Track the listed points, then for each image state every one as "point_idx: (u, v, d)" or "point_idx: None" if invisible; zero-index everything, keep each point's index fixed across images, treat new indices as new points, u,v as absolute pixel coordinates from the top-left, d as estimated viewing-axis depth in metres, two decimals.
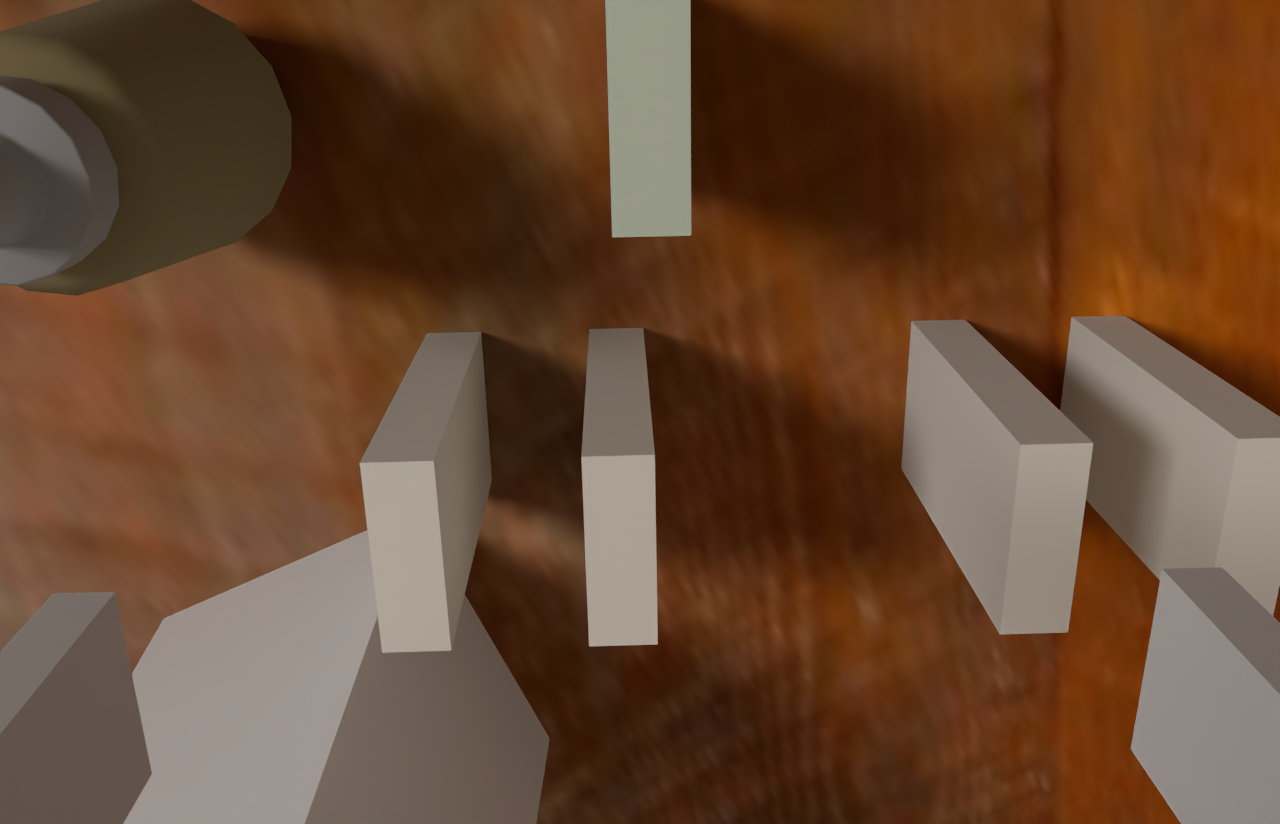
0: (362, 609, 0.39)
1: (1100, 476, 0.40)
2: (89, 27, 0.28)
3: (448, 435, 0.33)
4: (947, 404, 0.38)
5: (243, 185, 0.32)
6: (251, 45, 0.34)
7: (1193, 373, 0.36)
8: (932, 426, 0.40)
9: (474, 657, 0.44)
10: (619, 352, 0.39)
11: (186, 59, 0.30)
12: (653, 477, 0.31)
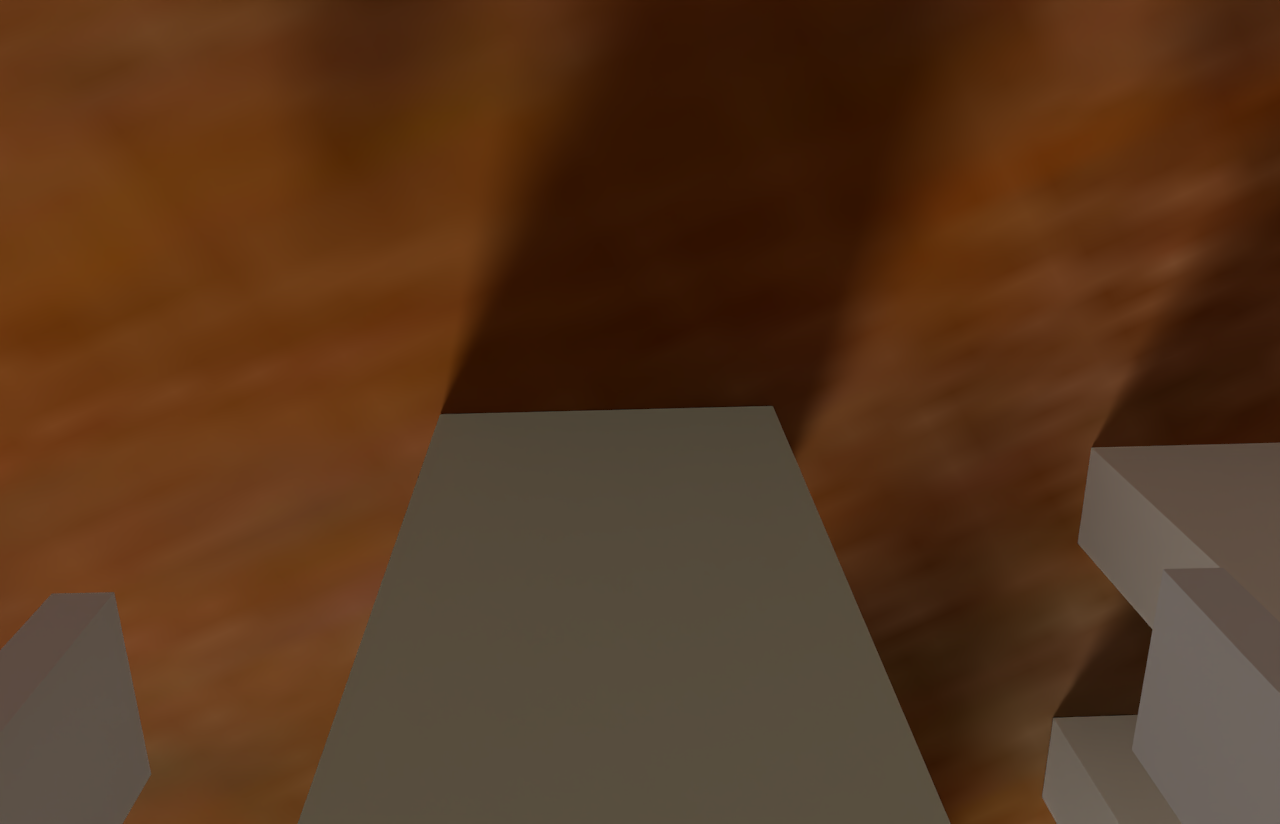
0: None
1: None
2: None
3: None
4: None
5: None
6: None
7: None
8: None
9: None
10: (1156, 564, 0.19)
11: None
12: None
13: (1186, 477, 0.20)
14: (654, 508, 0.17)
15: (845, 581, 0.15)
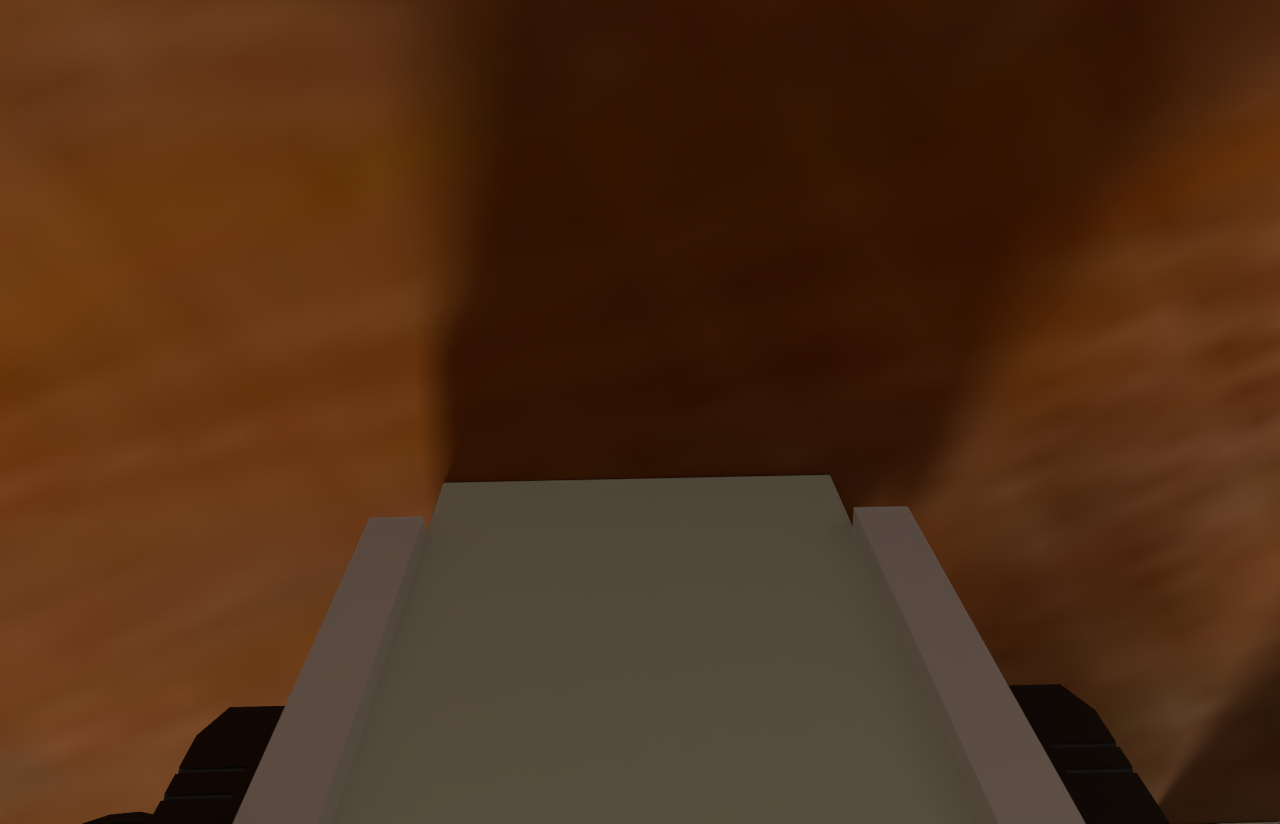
0: None
1: None
2: None
3: None
4: None
5: None
6: None
7: None
8: None
9: None
10: None
11: None
12: None
13: None
14: (696, 617, 0.14)
15: None
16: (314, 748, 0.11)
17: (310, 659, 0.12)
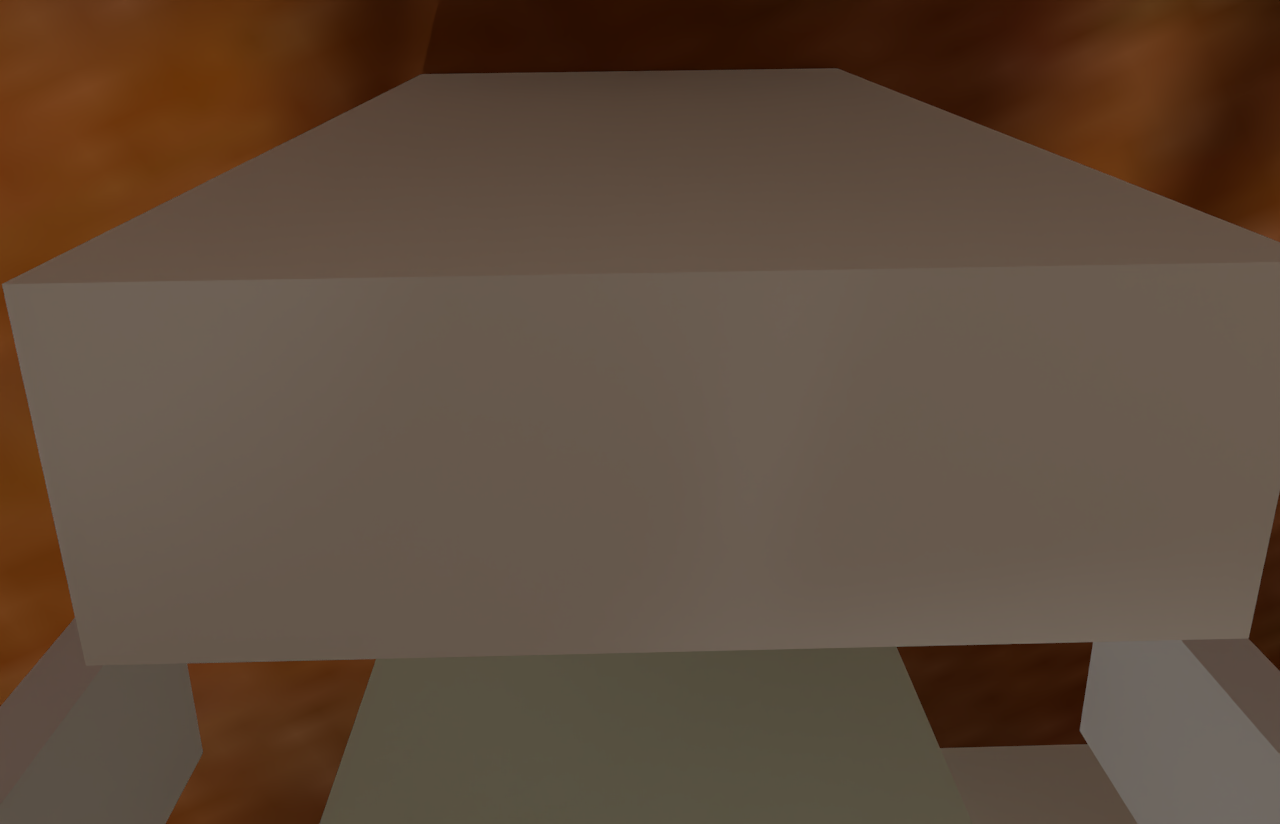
0: None
1: None
2: None
3: None
4: None
5: None
6: None
7: None
8: None
9: None
10: None
11: None
12: None
13: None
14: None
15: (905, 675, 0.13)
16: None
17: None
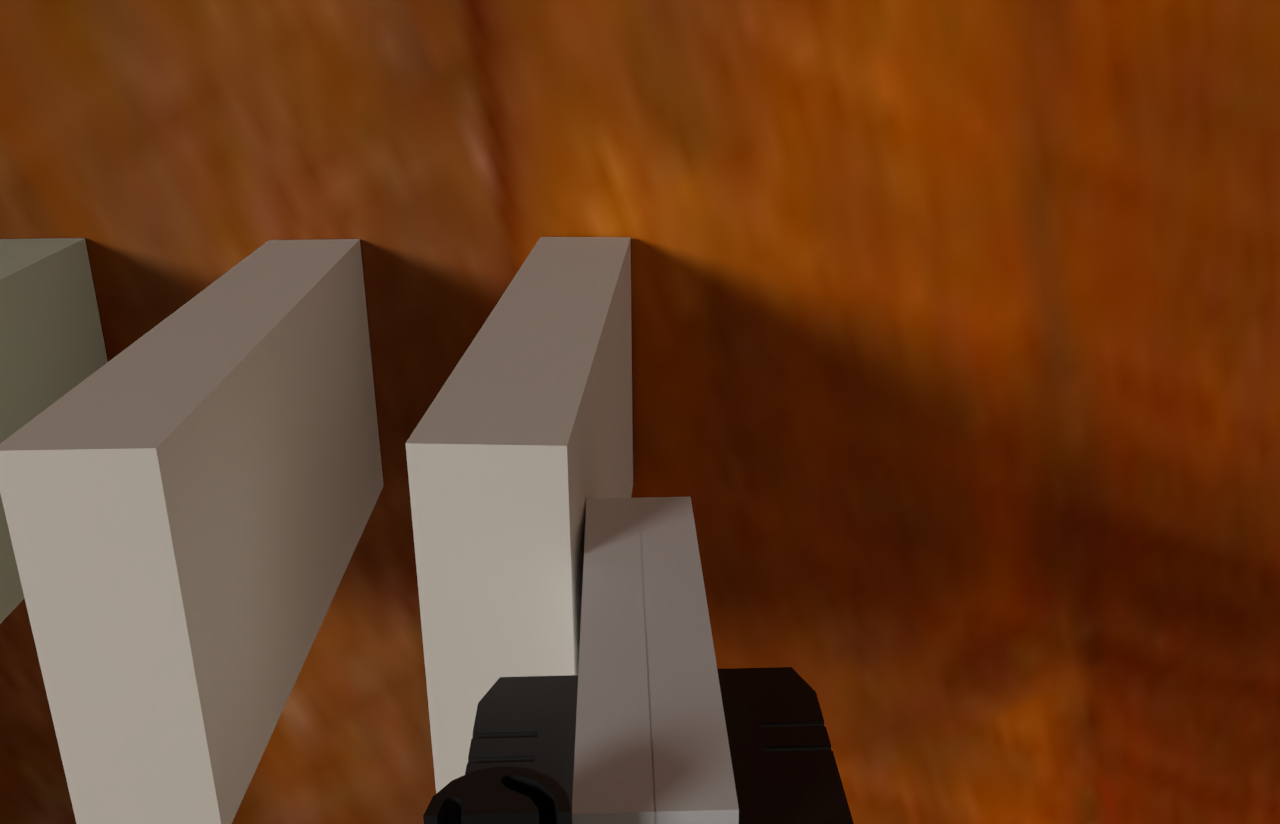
0: None
1: None
2: None
3: None
4: None
5: None
6: None
7: (568, 321, 0.19)
8: None
9: None
10: None
11: None
12: None
13: None
14: None
15: None
16: (622, 712, 0.11)
17: (584, 630, 0.13)
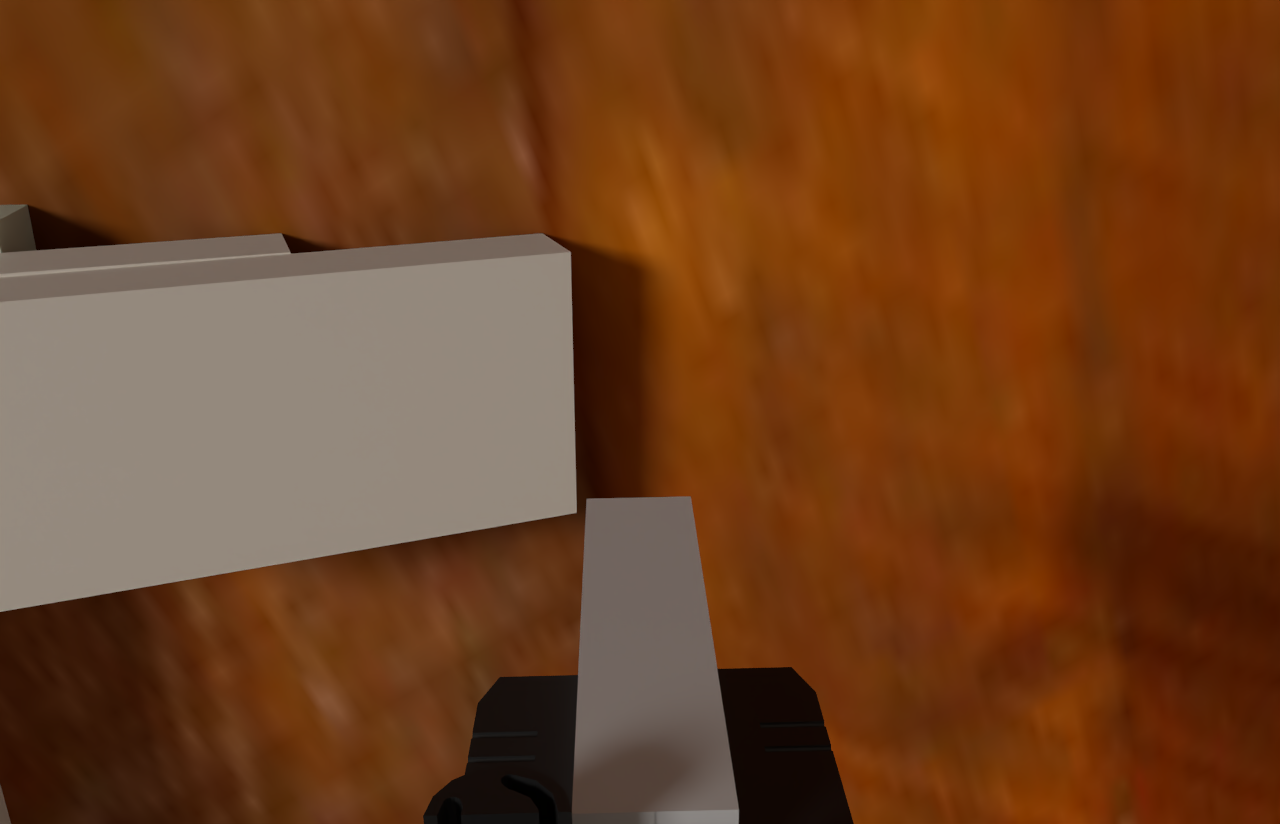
0: None
1: None
2: None
3: None
4: None
5: None
6: None
7: (233, 274, 0.22)
8: None
9: None
10: None
11: None
12: None
13: None
14: None
15: None
16: (622, 711, 0.11)
17: (584, 630, 0.13)
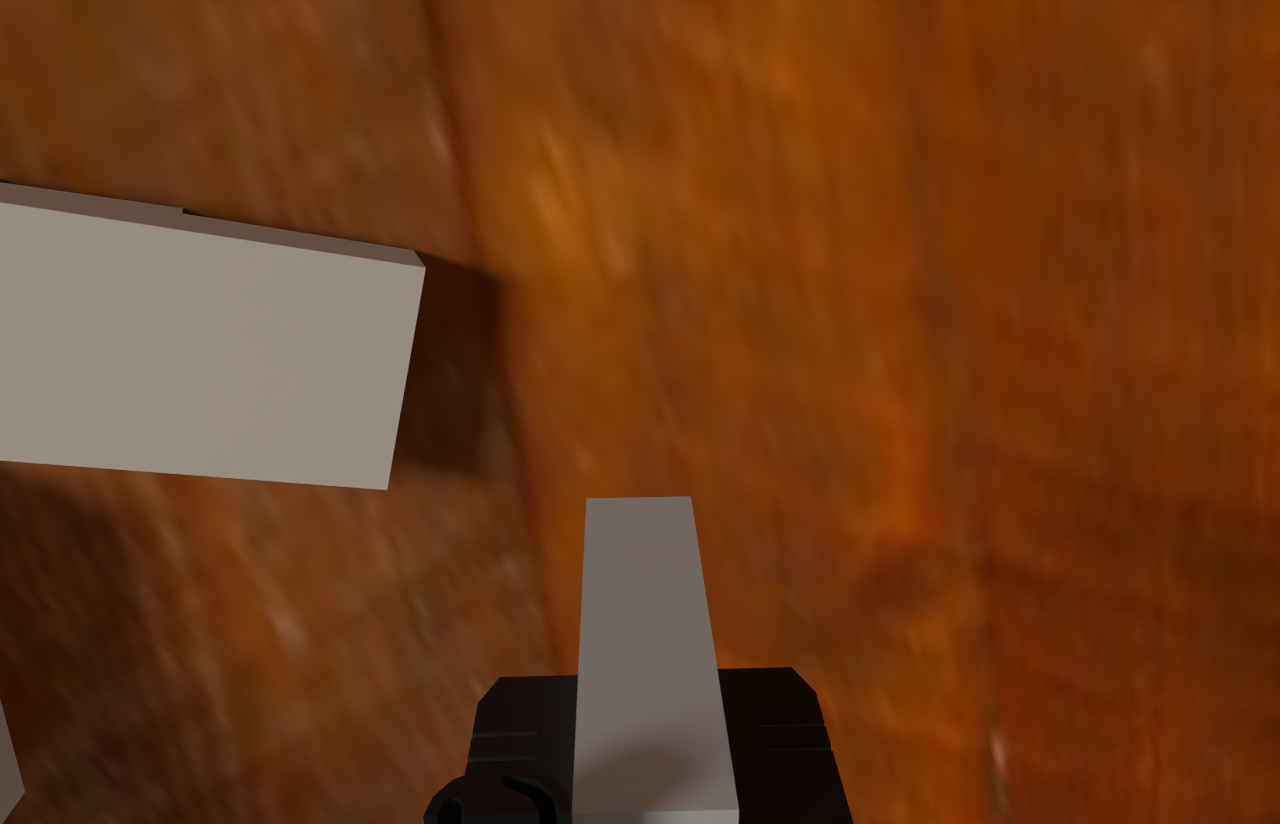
0: None
1: None
2: None
3: None
4: None
5: None
6: None
7: (134, 217, 0.26)
8: None
9: None
10: None
11: None
12: None
13: None
14: None
15: None
16: (622, 711, 0.11)
17: (585, 630, 0.13)
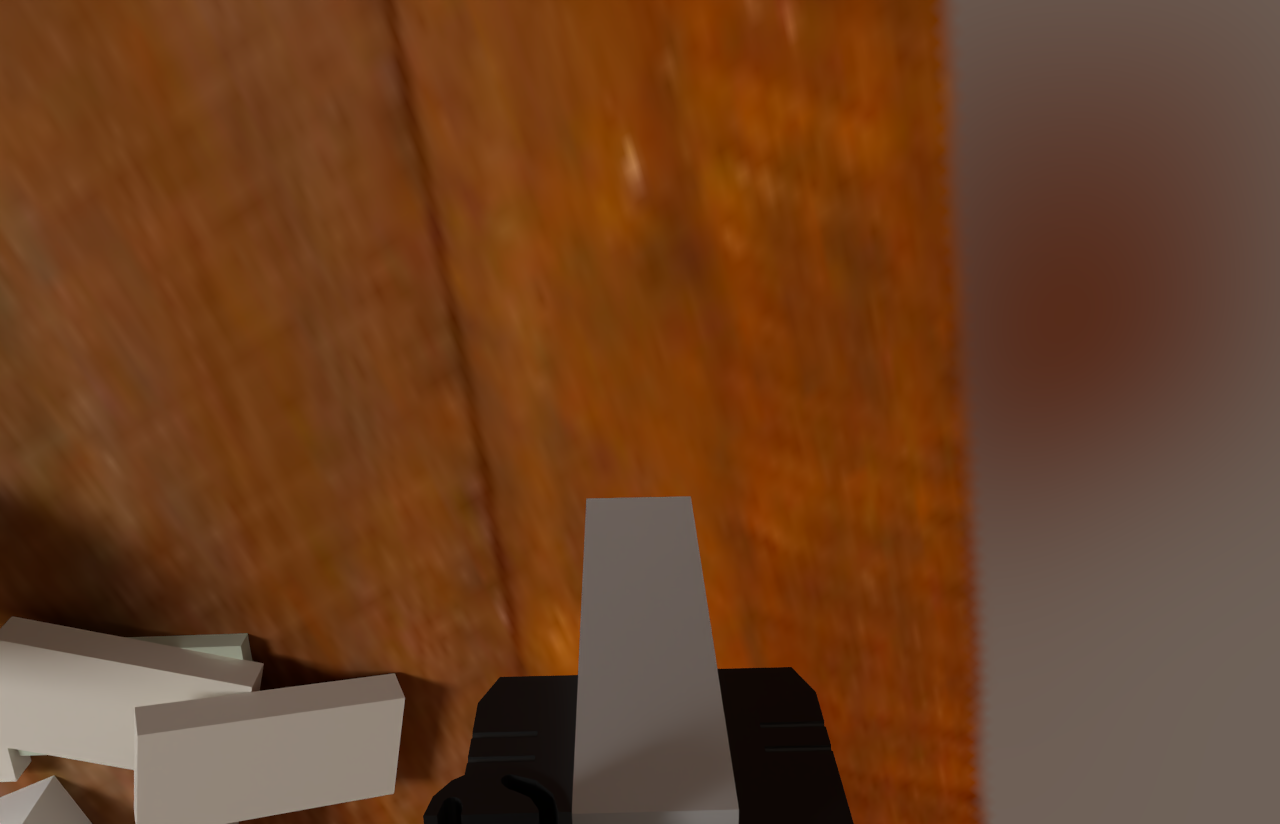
0: None
1: None
2: None
3: None
4: None
5: None
6: None
7: (262, 709, 0.53)
8: None
9: None
10: None
11: None
12: None
13: None
14: None
15: None
16: (622, 711, 0.11)
17: (584, 630, 0.13)
